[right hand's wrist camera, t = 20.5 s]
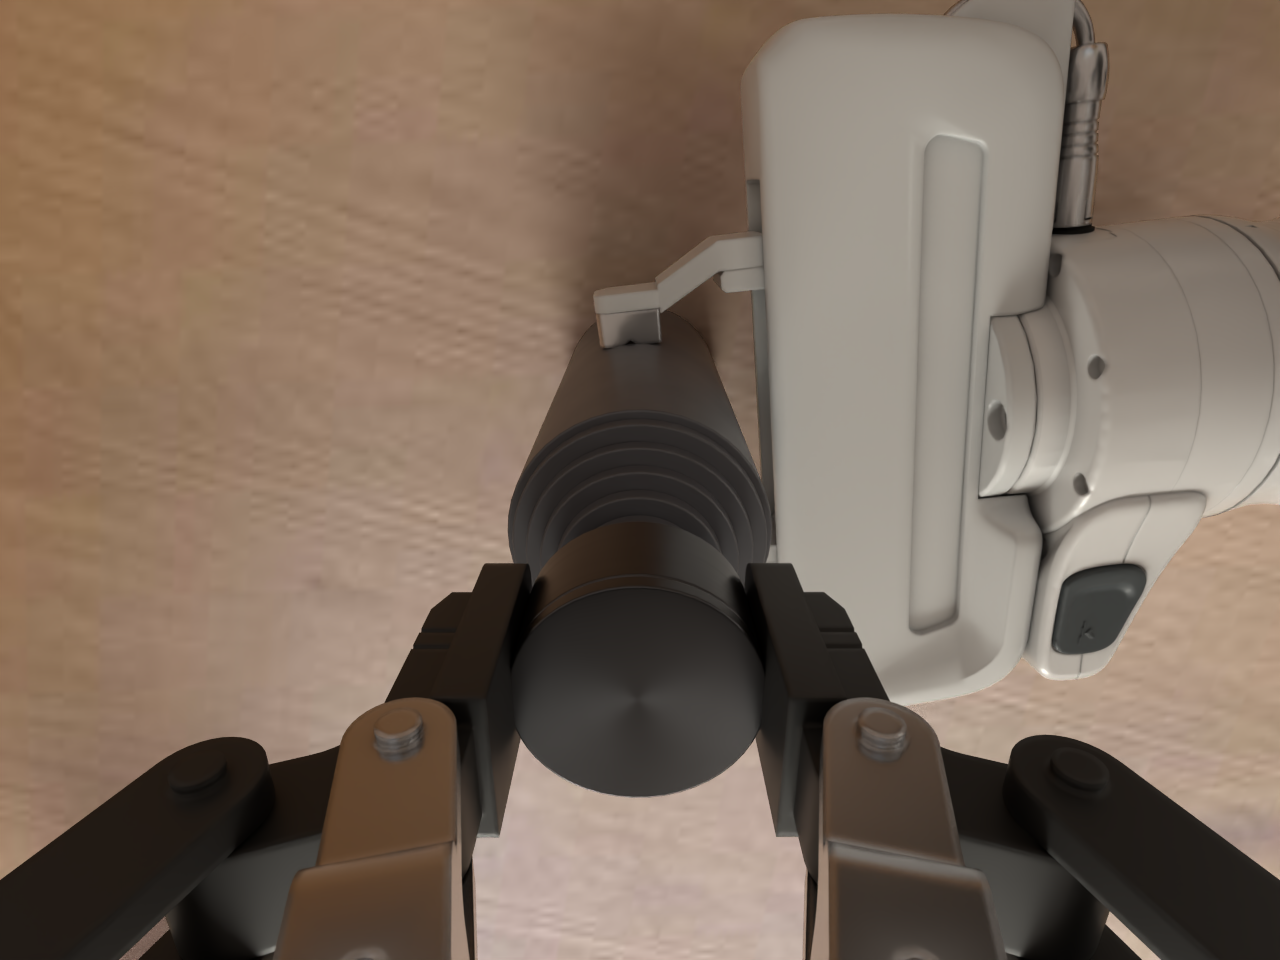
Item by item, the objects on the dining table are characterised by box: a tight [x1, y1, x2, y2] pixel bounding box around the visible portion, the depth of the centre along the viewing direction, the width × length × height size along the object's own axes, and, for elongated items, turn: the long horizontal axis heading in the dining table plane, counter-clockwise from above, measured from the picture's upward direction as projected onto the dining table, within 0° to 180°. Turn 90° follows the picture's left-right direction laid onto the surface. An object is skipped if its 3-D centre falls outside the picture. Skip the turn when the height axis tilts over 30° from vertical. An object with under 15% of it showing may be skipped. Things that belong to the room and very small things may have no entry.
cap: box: [510, 521, 765, 798], centre depth 11 cm, size 4×4×2 cm
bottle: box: [508, 309, 772, 588], centre depth 19 cm, size 6×6×18 cm
